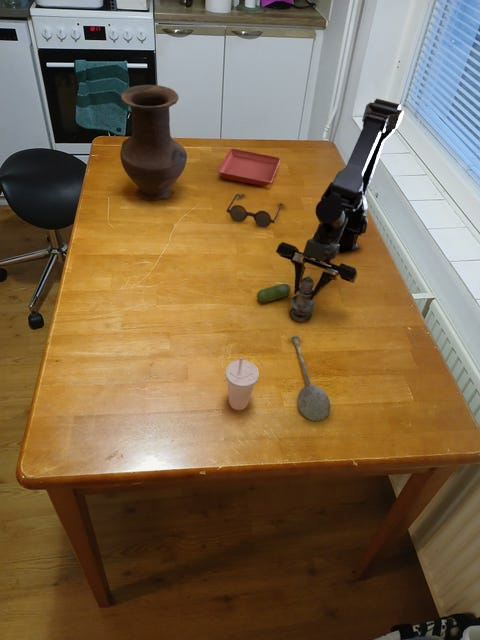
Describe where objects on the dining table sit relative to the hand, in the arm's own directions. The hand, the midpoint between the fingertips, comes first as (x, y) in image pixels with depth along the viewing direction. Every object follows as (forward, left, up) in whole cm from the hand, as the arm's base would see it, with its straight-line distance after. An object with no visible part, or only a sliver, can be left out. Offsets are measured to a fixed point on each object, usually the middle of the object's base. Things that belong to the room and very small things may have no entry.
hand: (302, 297), depth 112 cm
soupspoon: (+8, +16, -7) cm, 19 cm away
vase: (+13, -65, -7) cm, 66 cm away
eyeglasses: (-12, -45, -7) cm, 47 cm away
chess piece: (-1, -1, -7) cm, 7 cm away
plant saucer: (-21, -67, -7) cm, 70 cm away
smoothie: (+24, +16, -7) cm, 30 cm away
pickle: (+2, -9, -7) cm, 11 cm away
